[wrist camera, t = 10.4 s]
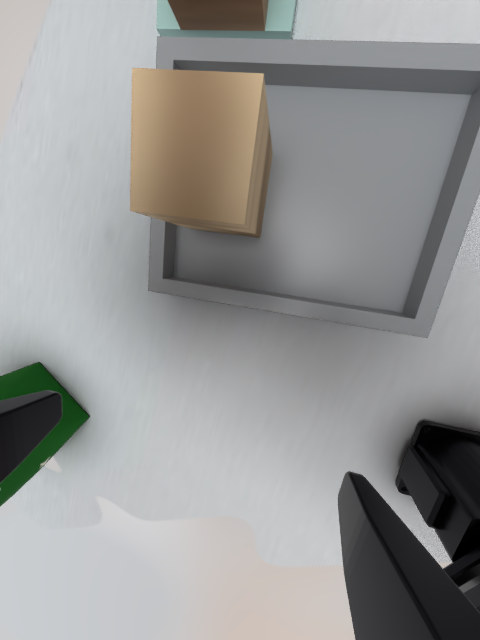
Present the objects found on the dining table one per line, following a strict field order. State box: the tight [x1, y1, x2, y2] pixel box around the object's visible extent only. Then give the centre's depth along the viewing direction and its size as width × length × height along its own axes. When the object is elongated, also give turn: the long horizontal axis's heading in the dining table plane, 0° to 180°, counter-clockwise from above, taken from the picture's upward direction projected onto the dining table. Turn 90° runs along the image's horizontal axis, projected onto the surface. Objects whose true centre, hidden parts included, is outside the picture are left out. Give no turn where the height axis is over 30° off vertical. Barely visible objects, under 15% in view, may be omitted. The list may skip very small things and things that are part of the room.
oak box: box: [130, 68, 273, 238], centre depth 13 cm, size 5×5×7 cm
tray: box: [148, 36, 480, 338], centre depth 15 cm, size 18×14×2 cm
